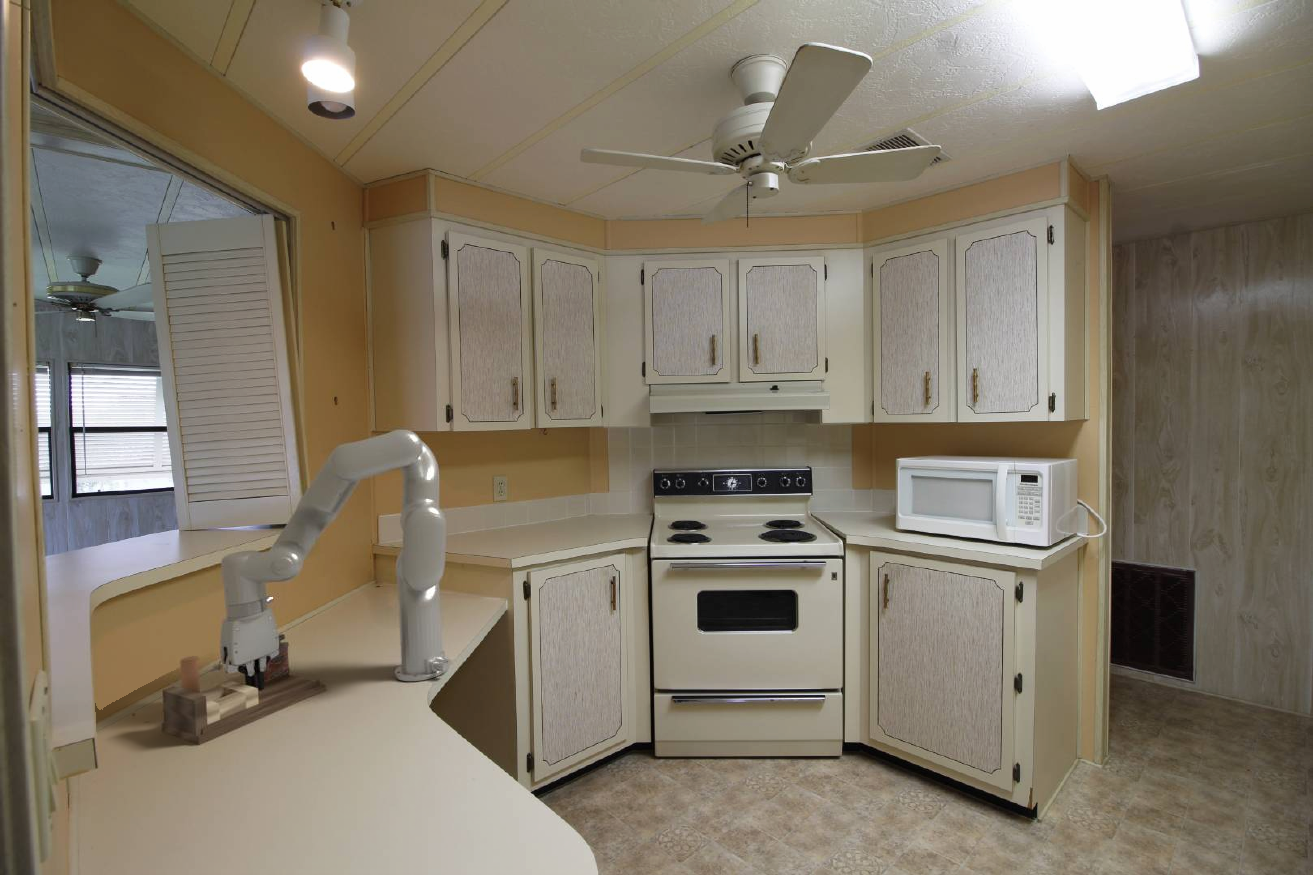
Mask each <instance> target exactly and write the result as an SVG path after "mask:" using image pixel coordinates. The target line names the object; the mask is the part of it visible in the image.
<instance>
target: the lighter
mask: <svg viewBox="0 0 1313 875" xmlns="http://www.w3.org/2000/svg"><path fill="white" fill-rule="evenodd" d="M278 637H279V648H278V650H279V654H278V655H277V656H275V657H274V658H272V659H270V661H269V662H268V664H267V665H266V669H265V670H264V671H263V673H264V681H265V680H267V679H270V678H272V677H275V676H278V675H280V674H283V673H285V672H288V673H289V674H290V673H291V668H290V667H289V666H290V665H289V662H290V661H289V642H288V641H287V642H286V641H284V640H285V639H286V635H285V634H284V633H281V634H278ZM281 641H283V642H281Z"/></svg>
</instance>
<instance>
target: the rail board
mask: <svg viewBox="0 0 1313 875" xmlns="http://www.w3.org/2000/svg"><path fill="white" fill-rule="evenodd" d="M263 687H264V689H263V690H261V691H258V700H259V704H257V705H255V706H252V707H250V708H247V709H245V710H242V711H240V712H238V713H235V714H233V715H230V716H228V717H225V718H223V719H221V720H218V721H216V722H213V723H211V724H208V725H207V705H206V696H204V695H200V694H197V693H194V692H191V691H188V690H184V689H182V687H178V686H174V685H173V686H171V687H168V688H165V689H162V703H163V722H162V723H161V730H162V732H165V733H167V734H170V735H173V736H174V737H175V736H176V737H178V738H180V739H183V740H185V741H188V742H191V743H194V744H196V745H199V746H200V745H203V744H205V743H207V742H209V741H212V740H214V739H216V738H219V737H221V736H223V735H226V734H228V733H231V732H232V731H235V730H237V729H240V728H242V727H243V726H246V725H249V724H251V723H254V722H256V721H258V720H261V719H263V718H265V717H267V716H270V715H271V714H273V713H276V712H279V711H282V710H283V709H285V708H288V707H290V706H292V705H295V704H297V703H299V702H301V701H304V700H307V699H309V698H310V697H313V696H316V695H318V694H320V693H322V692H325V691H326V690H327V683H326V682H321V681H320V680H319V679H316V680H313V679H309V678H305V677H302V676H298V675H294V674H290V673H288V672H285V673H283V674H280V675H278V676H275V677H272V678H270V679H267V680H265V681H264V684H263Z"/></svg>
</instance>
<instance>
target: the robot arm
mask: <svg viewBox="0 0 1313 875" xmlns="http://www.w3.org/2000/svg"><path fill="white" fill-rule="evenodd" d="M397 469H400V472H401V475H402V496H401V497H402V500H401V513H400V517H399V518H400V519H399V524H400V528H401V530H402V549H401V551H400V552H399V554H398V556H397V557H396V558H397V559H396V562H395V570H396V572H395V573H396V581H397V583H396V584H397V594H398V596H397V597H398V619H399V621H398V622H399V639H400V644H399V645H400V662H401V664H400V665H398V667H396V668H395V670H394V676H395V678H396V679H397V680H400V681H402V682H421V681H424V680H426V681H427V680H429V679H432V678H436V677H438V676H439V677H440V675H443V674H445V673H446V672H447V671H448V670H449V669H450V666H451V665H452V664H453V660H452V659H448V658H446V651H443V636H442V635H443V634H442V614H441V590H440V581H441V579H442V578H443V575H444V571H445V568H446V567H445V566H446V552H447V551H446V548H447V547H446V546H447V518H446V516H445V514H444V512H443V510H442V509H441V508H440V470H439V464H438V461H437V459H436V457H435V455H434V453H433V451H432V450H431V449H430V447H429V446H428V445H427V444H426V443H425V442H424V441H422V439H420V437H419V435H418V434H417V433H415V432H414V431H413V430H409V429H395V430H392V431H389V432H388V433H384V434H381V435H377V436H373V437H369V438H367V439H362V440H359V441H354V442H349V443H347V442H346V443H343V444H340V445H338V446H336V447H335V449H333V450H332V452H331V453H330V455H329V456H328V458H327V459H326V461H325V462H324V463H323V465H322V467H321V468H320V470H319V471H318V473H317V474H316V476H315V477H314V479H313V480H312V482H311V483H310V484H309V486H308V488H307V489H306V491H305V492H304V494H303V495H302V497H301V499H300V500H299V502H298V504H297V506H296V508H295V511H294V512H293V514H292V515H291V517H290V518H289V521H288V522H287V523H286V525H285V526H284V528H283V529H282V531H281V532H280V534H279V536H278V537H277V538H276V540H275V542H274V543H273V544H272V545H271V547H270V549H269V550H266V551H263V552H260V551H258V550H253V549H252V550H242V551H237V552H232V553H229V554H227V555H225V556H224V557H222V559H221V562H220V563H221V564H220V566H221V574H222V585H223V594H224V606H225V613H226V618H224V619H222V621H221V622H222V623H221V625H220V626H221V627H220V640H219V643H220V646H219V648H220V661H221V664H223V665H225V666H224V673H226V674H233V673H240V674H242V675H243V676H244V680H245V685H248V686H251V687H255V688H258V691H261V690H263V689H264V687H263V684H264V673H263V671H264V670H265V669H266V665H267V664H268V662H269V661H270V659H272V658H274V657H275V656H277V655H278V654H279V650H278V648H279V637H278V635H279V632H278V627H277V623H276V619H275V617H274V614H273V613H274V612H273V611H272V608H270V607H269V606H270V605H269V603H272V602H273V601H274V598H273V596H272V595H270V596H268V594H267V586H266V584H268V583H281V582H288V581H291V580H293V579H295V578H296V577H297V576H298V575H299V574H300V573H301V571H302V569H303V565H304V561H305V559H306V558H307V556H308V554H309V552H311V551H312V550H311V549H312V548H313V546H314V545H315V544H316V542H317V540H318V539H319V538H320V536H321V535H322V533H323V532H324V531H325V529H326V528H327V527H328V526H329V525H330V524H331V523H332V522H333V521H334V520H336V518H337V517H338V515H340V513H341V512H342V509H343V508H344V506H345V505H346V504H347V502H348V500H349V499H350V497H351V496H352V494H353V492H354V491H355V489H356V488H357V486H358V485H359V484H360V482H361V480H363V479H368V478H371V477H374V476H377V475H382V474H384V473H388V472H390V471H394V470H397Z"/></svg>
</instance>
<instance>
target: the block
mask: <svg viewBox="0 0 1313 875" xmlns="http://www.w3.org/2000/svg"><path fill="white" fill-rule="evenodd" d="M197 694H200V695H204V696H206V705H207V725H208V724H211V723H213V722H216V721H218V720H221V719H223V718H225V717H228V716H230V715H233V714H235V713H238V712H240V711H242V710H245V709H247V708H250V707H252V706H255V705H257V704H259V700H258V688H255V687H251V686H248V685H246V684H243V683H240V682H237V681H233V680H230V681H227V682H224V683H222V684H219V685H216V686H214V687H211V688H208V689H205V690H202V691H200V692H199V693H197Z"/></svg>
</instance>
